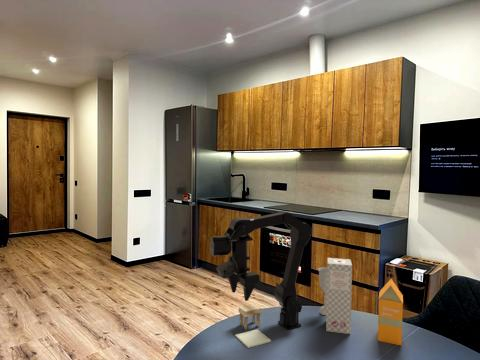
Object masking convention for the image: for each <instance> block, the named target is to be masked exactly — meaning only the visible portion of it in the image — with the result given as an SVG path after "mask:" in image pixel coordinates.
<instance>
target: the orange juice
mask: <svg viewBox="0 0 480 360" xmlns="http://www.w3.org/2000/svg"><path fill="white" fill-rule="evenodd" d="M378 293H379V295H378V304H377V305H378V315H377V316H378V317H377V341H379V342H383V343H388V344H393V345H397V346H402V339H403V313H404V312H403V309H404V308H403V307H404V306H403V305H404V298H403V297H404V294H402V292H401V291H400V290H399V288H398V286H397V285H396V283H395V282H394V281H393V279H392V278H390V279H389V280H388V281H387V282H386V283H385V284H384V286H383V287H382V288H381V289H380V291H379V292H378Z"/></svg>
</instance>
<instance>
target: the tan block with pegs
mask: <svg viewBox="0 0 480 360" xmlns="http://www.w3.org/2000/svg"><path fill="white" fill-rule="evenodd" d="M262 311H263V310H262V307H260V306H259V305H258V304H257V303H249V304H245V305H240V306H238V313H239V327H243V330H245V331H247V330H248V321H249V320H248V317H251V322H252V324H256V328H257V327H258V328H260V327H261V314H262ZM243 325H244V326H243Z"/></svg>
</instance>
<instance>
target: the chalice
mask: <svg viewBox="0 0 480 360" xmlns="http://www.w3.org/2000/svg"><path fill="white" fill-rule="evenodd" d="M317 270H318V281H319V286H320V288H321V291H322V292H323V293H324V296H323V298H324V300H323V302H324V303H323V304H324V305H322V306H321V307H320V309H319V314H320V315H324V316H326V307H327V266H323V267H318V268H317Z"/></svg>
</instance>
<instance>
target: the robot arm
mask: <svg viewBox="0 0 480 360" xmlns="http://www.w3.org/2000/svg"><path fill="white" fill-rule="evenodd" d="M282 224H284V225H285V227H286V228H288V229H289V230H290V231H289V237H290V247H289V252H288V257H287V261H286V263H285V264H286V265H285V269H284V273H283V278H282V280H281V282H280V283H279V282H277V283H275V289H274V291H273V294H274V299H275V301H276V302H278V304H279V306H281V308H280V312H279V320H278V321H277V323H278V325H281V326H282V327H284V328H285V329H286V330H290V329H294V328H298V327H301V326H302V324H301V323H299V320H300V319H299V318H300V317H299V315H300V313H301V312H302V309H303V306H302V305H301V304H300V303H299V302H298V301H297V293H298V292H297V287H296V282H297V279H298V278H297V277H298V273H299V269H300V264H301V261H302V256H303V251H304V248H305V246H306V245H307V244H308V243H309V241H310V239H311V236H312V235H313V234H312V233H313V228H312V226H311V225H310V224H309V223H306V222H304V221H302V220H300V219H298V218H297V217H295V216H294V215H293V214H292V213H291V212H289V211H284V210H283V211H280V212H276V213H271V214H265V215H260V216H255V217H233V218H232V219H231V220H230V222H229V227H227V229H226V231H225V233H224V234H223V235H219V236H218V235H217V236H215V235H214V236H211V240H210V244H209V252H210V255H211V256H210V257H220V256H228V260H227V261H225V262H223V263H221V264H219V265H218V266H216V267H215V269H216V271H217V272H216V273H217V274H218V276H219V277H220V278H222V279H227V280H228V283H229V286H230V289H231V292H232V293H236V291H237V287H238V283H239V284H240V285H241V286H242V289H243V296H244V301H245V302H247V301H249V299H250V298H251V295H252V293H253V292H254V289H255V288H256V285H258V284H259V283H261V276H260V275H259V274H258V273H256V272H254V271H251V267H249V266H248V265H249V264H248V261H250V259H251V256H249V255H248V242H252V241H253V240H254V239H253V237H251V236H250V234H251V233H253V232H254V231H256V230H258V229H263V228H268V227H272V226H277V225H282ZM229 254H231V255H229Z"/></svg>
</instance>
